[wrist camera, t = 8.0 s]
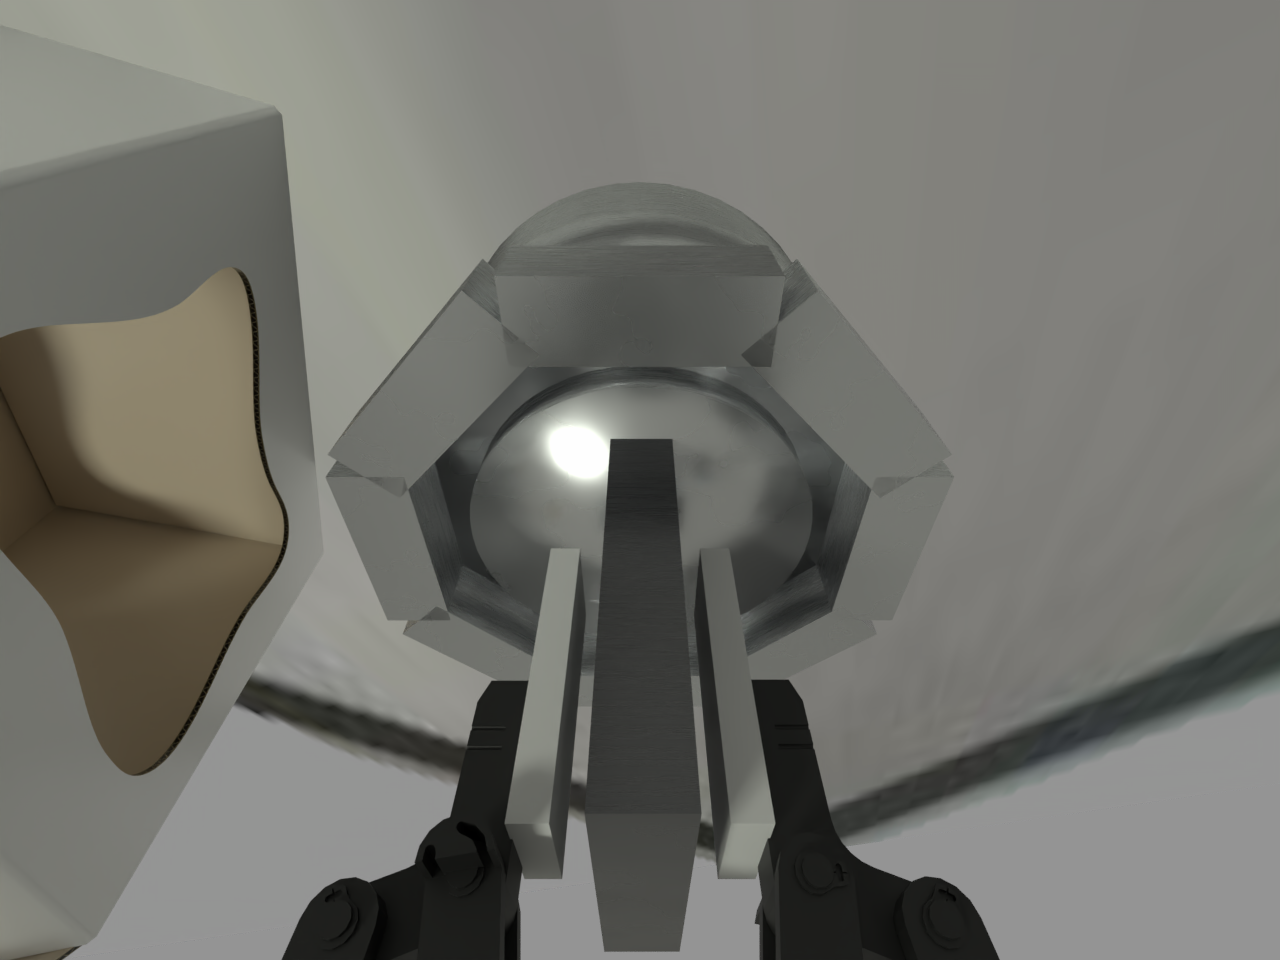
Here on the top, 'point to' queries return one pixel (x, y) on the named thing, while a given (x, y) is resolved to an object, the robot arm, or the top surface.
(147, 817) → the gable box
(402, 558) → the pot
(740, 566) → the lid
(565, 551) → the robot arm
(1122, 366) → the top surface
